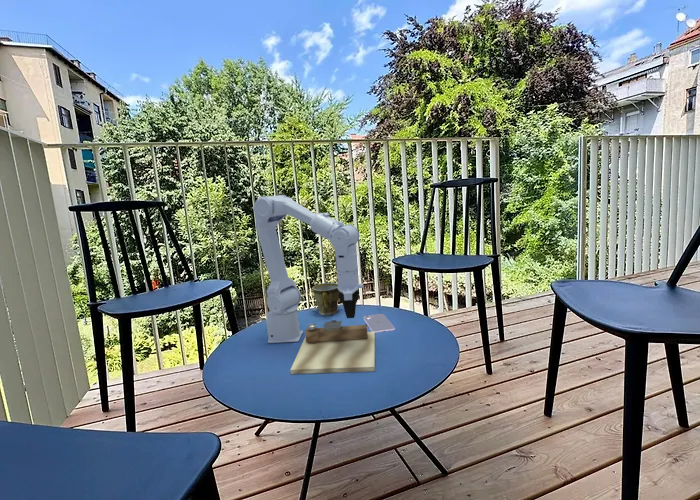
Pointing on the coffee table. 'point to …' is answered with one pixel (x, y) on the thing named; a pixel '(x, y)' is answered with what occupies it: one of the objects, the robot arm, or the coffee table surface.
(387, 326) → the mobile phone
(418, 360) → the coffee table surface
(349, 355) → the base plate
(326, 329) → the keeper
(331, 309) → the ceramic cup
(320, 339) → the link
